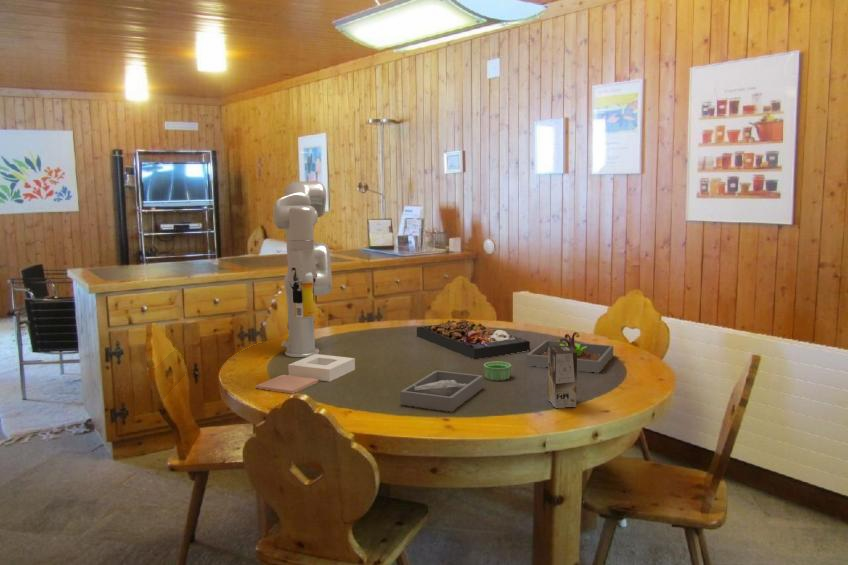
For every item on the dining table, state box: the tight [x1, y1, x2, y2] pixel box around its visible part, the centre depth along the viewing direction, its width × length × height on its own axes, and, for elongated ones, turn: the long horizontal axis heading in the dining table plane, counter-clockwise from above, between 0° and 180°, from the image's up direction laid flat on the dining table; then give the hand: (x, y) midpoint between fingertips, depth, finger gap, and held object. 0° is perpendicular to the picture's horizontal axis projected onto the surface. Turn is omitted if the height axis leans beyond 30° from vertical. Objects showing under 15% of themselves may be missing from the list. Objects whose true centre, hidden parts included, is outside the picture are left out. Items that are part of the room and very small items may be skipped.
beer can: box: [294, 272, 315, 319], centre depth 228 cm, size 6×6×15 cm
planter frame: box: [525, 339, 614, 374], centre depth 251 cm, size 25×25×4 cm
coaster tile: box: [255, 374, 319, 395], centre depth 224 cm, size 14×14×1 cm
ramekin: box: [483, 360, 512, 382], centre depth 231 cm, size 9×9×4 cm
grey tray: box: [399, 370, 484, 413], centre depth 211 cm, size 16×25×4 cm, turn 155°
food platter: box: [416, 318, 531, 360], centre depth 280 cm, size 45×25×10 cm, turn 28°
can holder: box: [287, 353, 356, 382], centre depth 238 cm, size 16×16×4 cm
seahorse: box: [412, 380, 467, 397], centre depth 211 cm, size 5×12×20 cm
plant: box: [541, 331, 601, 361], centre depth 250 cm, size 20×20×11 cm
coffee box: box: [547, 346, 578, 409], centre depth 202 cm, size 9×6×16 cm
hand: (303, 300), depth 228 cm, fingers closed on beer can, 6 cm apart
